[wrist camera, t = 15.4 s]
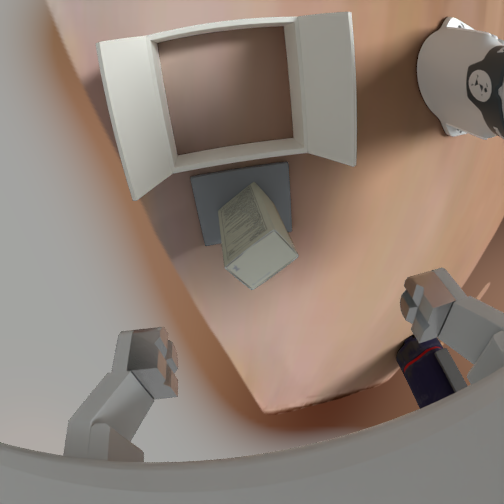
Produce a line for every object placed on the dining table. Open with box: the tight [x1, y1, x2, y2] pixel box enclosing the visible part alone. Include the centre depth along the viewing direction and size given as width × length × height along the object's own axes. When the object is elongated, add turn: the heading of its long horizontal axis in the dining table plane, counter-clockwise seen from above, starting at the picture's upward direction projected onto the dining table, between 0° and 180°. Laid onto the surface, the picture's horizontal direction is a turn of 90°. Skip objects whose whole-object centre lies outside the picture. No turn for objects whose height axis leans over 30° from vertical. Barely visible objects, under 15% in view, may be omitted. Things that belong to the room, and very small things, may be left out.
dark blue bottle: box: [396, 336, 468, 409], centre depth 56 cm, size 14×12×30 cm
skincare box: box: [218, 182, 299, 290], centre depth 35 cm, size 6×4×12 cm
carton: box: [96, 12, 357, 201], centre depth 27 cm, size 22×15×10 cm
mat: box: [190, 162, 292, 246], centre depth 40 cm, size 12×10×1 cm
